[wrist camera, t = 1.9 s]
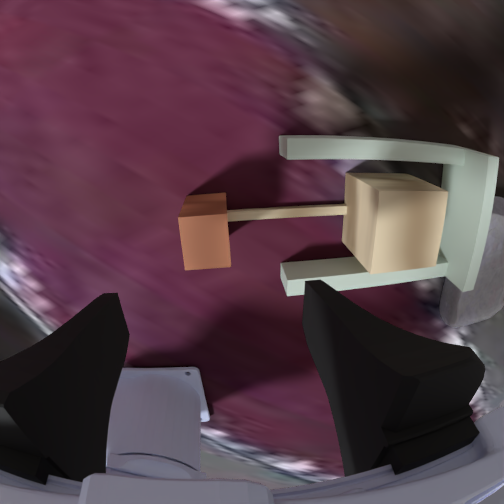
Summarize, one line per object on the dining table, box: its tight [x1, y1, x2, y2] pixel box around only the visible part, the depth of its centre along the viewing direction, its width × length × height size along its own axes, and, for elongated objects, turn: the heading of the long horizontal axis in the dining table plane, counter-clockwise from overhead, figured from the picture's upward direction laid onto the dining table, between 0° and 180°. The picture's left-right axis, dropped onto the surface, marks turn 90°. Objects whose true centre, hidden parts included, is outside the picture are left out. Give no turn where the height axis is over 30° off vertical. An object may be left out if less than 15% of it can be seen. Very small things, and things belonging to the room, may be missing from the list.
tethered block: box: [178, 173, 448, 274], centre depth 19 cm, size 16×5×5 cm, turn 92°
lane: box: [279, 135, 499, 296], centre depth 19 cm, size 14×10×5 cm
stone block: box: [439, 196, 504, 328], centre depth 23 cm, size 12×5×10 cm
